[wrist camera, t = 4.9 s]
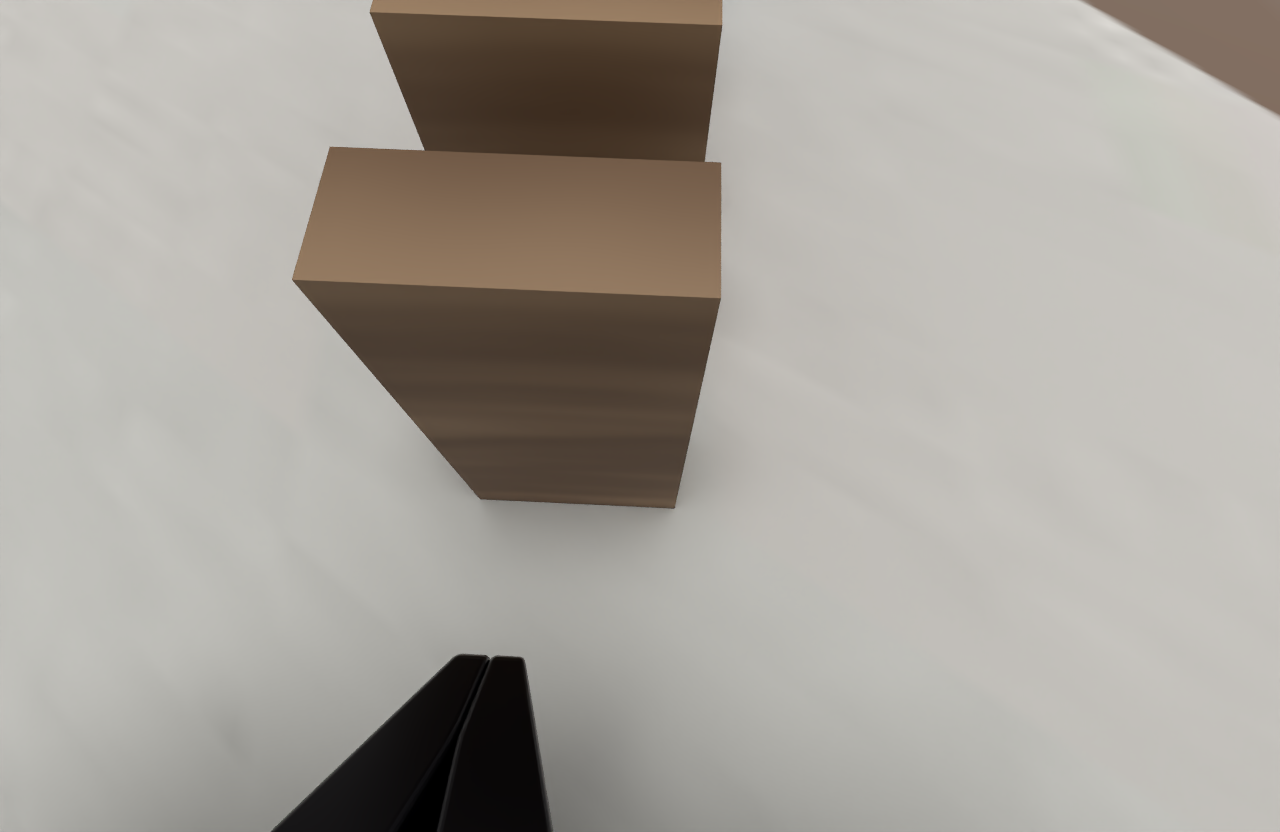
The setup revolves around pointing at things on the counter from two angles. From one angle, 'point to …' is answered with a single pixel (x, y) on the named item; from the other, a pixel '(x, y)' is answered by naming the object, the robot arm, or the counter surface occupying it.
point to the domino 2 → (527, 309)
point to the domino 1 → (556, 74)
